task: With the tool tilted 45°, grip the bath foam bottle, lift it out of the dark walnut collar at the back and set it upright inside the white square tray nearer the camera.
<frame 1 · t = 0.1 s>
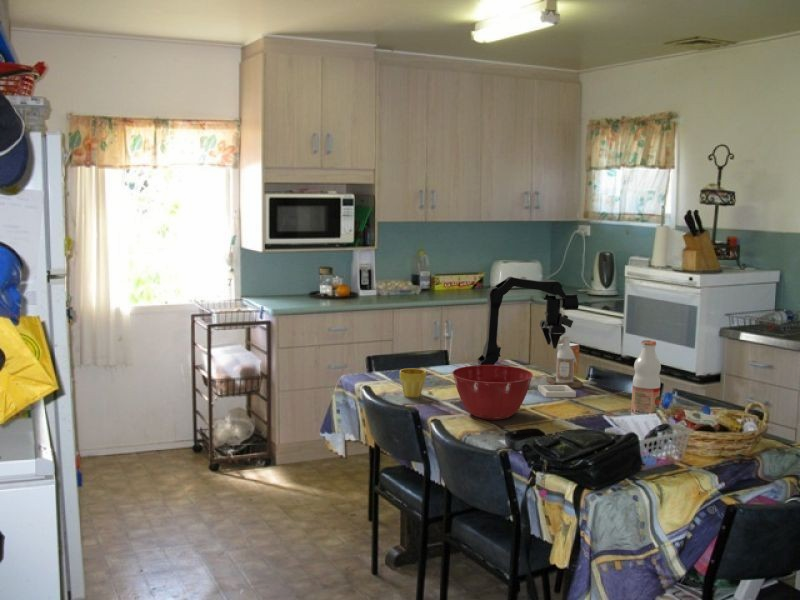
hand: (551, 346, 353), 15 cm above the table, tool pointing down, fingers open, 9 cm apart
white square tray: (556, 393, 331), on the table
small box: (567, 373, 370), on the table
fruit juice: (644, 419, 296), on the table
plant pot: (412, 396, 323), on the table
mixing bowl: (490, 415, 297), on the table
walnut collar: (564, 384, 347), on the table
bath foam: (564, 384, 348), on the table
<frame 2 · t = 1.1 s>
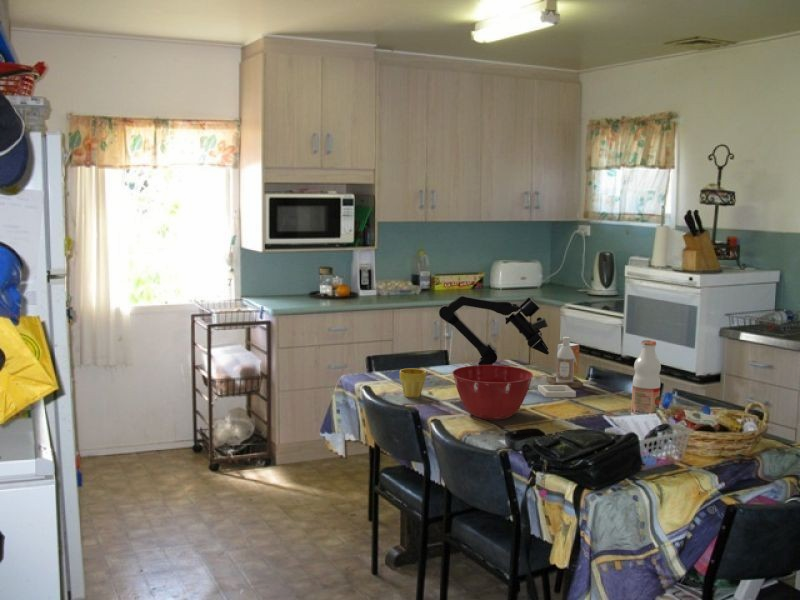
hand: (547, 351, 347), 13 cm above the table, tool tilted 45°, fingers open, 9 cm apart
nothing on the table moved.
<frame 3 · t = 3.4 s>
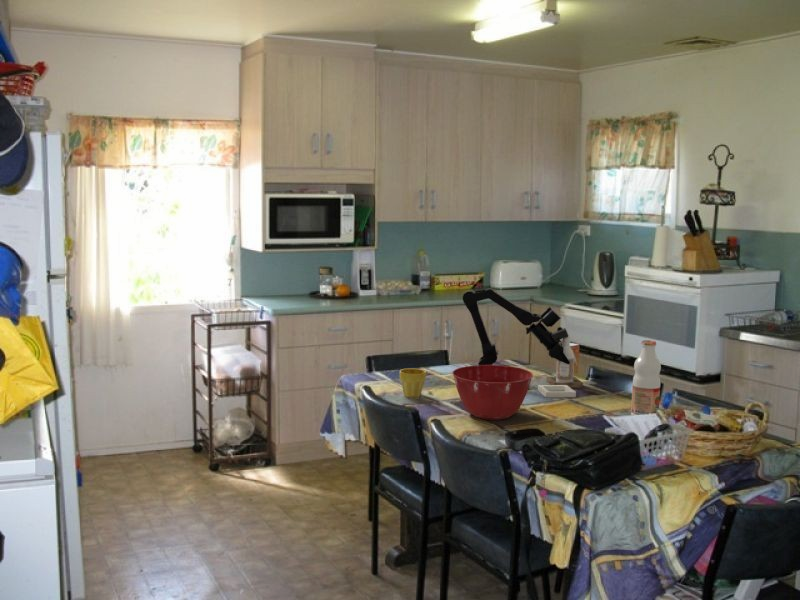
hand: (568, 361, 346), 10 cm above the table, tool tilted 45°, fingers closed on bath foam, 7 cm apart
bath foam: (564, 384, 348), on the table, touching gripper
everything else where it was.
when the fingers open (10 cm above the table, at t = 7.5 s): bath foam stays where it is, on the table.
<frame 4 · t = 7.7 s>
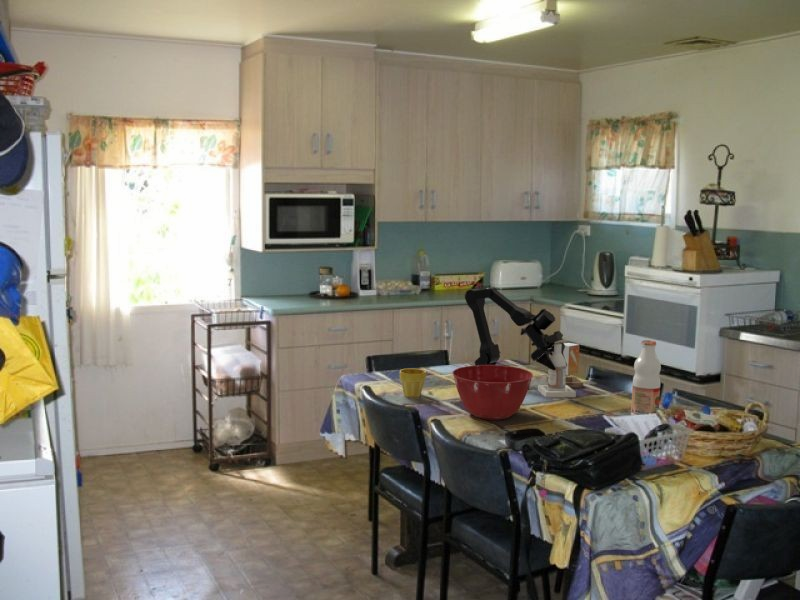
hand: (560, 368, 329), 11 cm above the table, tool tilted 45°, fingers open, 9 cm apart
bath foam: (556, 393, 331), on the table
everything else where it was.
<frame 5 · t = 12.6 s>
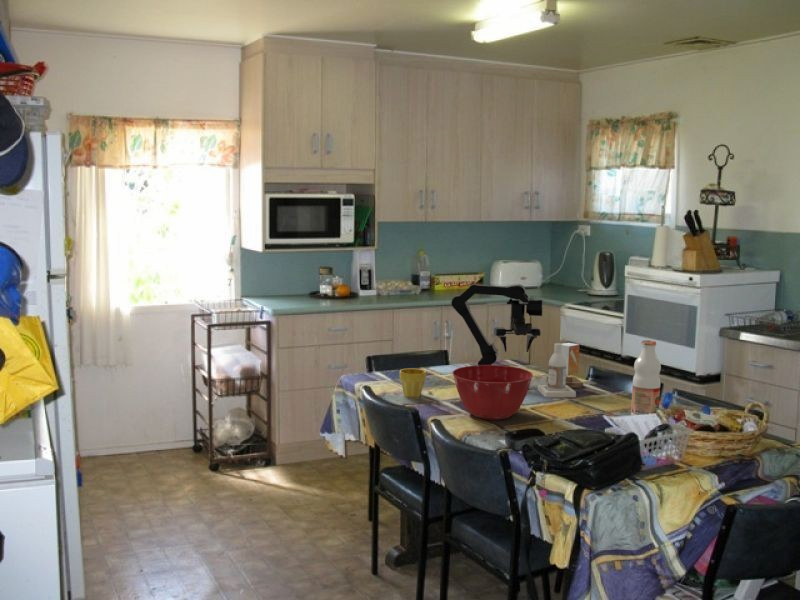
hand: (516, 351, 348), 13 cm above the table, tool pointing down, fingers open, 9 cm apart
nothing on the table moved.
at the end: bath foam 0.3 cm off-centre on the white square tray, point 0.0 cm above the white square tray's base; bath foam tilted 0°; the gripper is holding nothing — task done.
